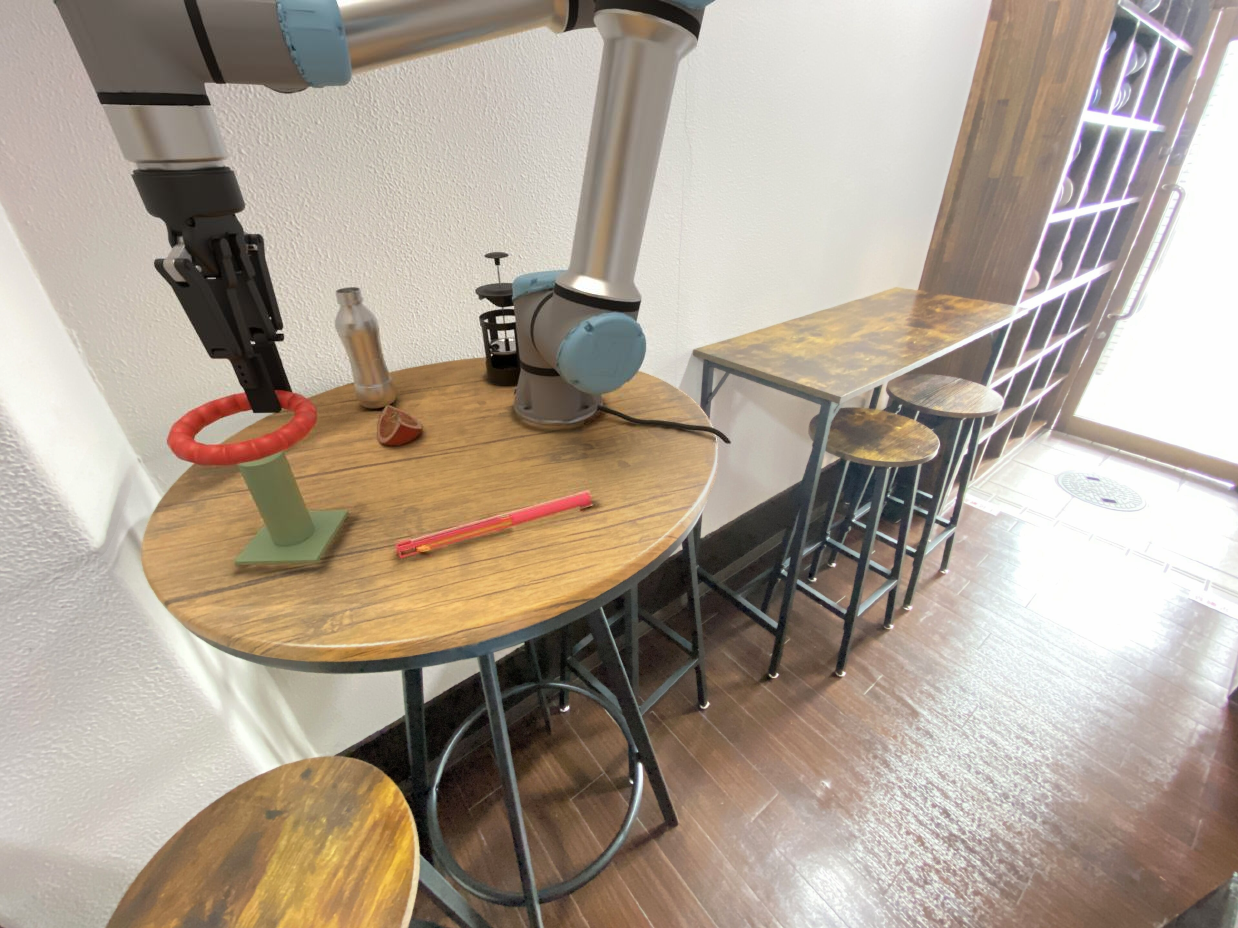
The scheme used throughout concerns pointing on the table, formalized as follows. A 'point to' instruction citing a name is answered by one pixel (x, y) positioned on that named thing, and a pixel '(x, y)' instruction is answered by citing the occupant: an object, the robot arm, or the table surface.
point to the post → (285, 517)
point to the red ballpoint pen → (494, 523)
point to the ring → (242, 451)
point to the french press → (505, 347)
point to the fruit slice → (397, 427)
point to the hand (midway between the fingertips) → (274, 405)
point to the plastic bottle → (363, 349)
